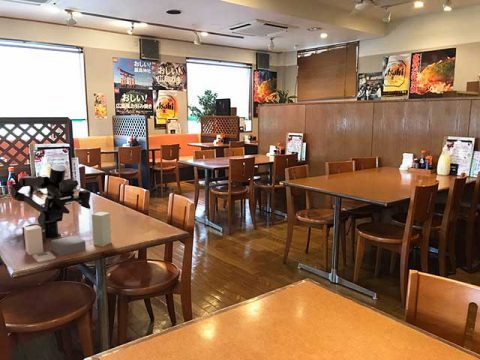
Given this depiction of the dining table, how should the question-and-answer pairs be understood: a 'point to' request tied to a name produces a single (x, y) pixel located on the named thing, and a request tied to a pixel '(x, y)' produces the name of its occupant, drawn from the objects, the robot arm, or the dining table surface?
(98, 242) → the sage block
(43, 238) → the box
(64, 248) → the slate base
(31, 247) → the white block
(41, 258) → the plaque
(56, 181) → the robot arm
